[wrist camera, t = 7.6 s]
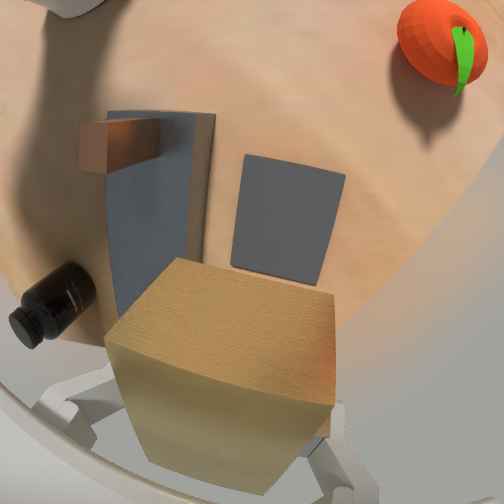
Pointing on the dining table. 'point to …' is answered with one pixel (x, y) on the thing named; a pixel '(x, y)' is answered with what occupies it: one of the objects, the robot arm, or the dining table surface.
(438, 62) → the clementine
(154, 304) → the lever cap
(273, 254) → the mat
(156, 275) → the body
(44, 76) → the dining table surface
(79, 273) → the supplement bottle
